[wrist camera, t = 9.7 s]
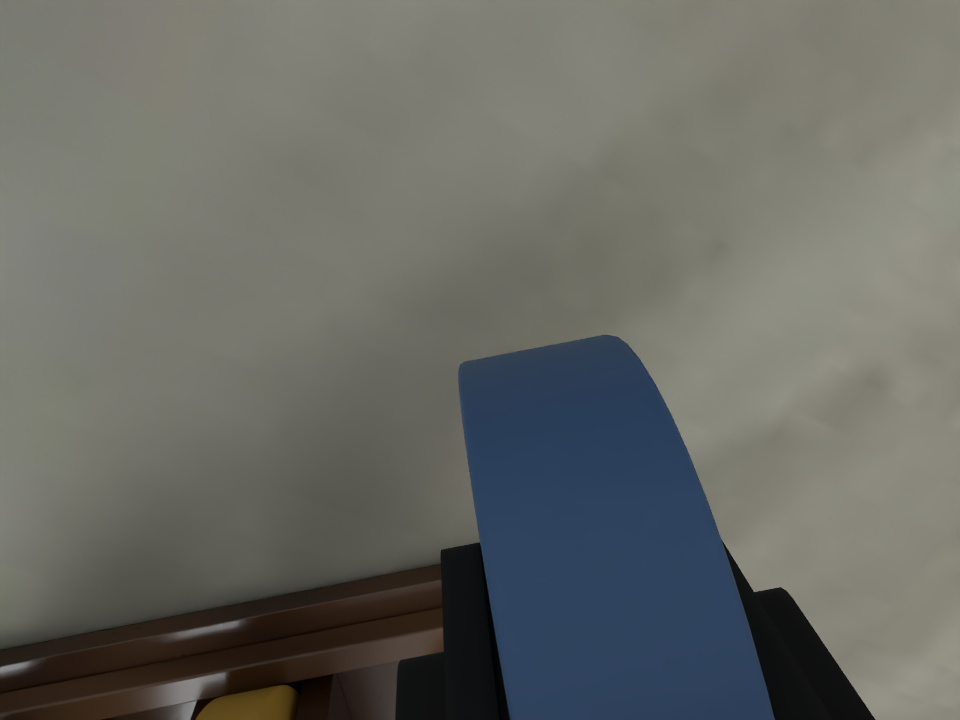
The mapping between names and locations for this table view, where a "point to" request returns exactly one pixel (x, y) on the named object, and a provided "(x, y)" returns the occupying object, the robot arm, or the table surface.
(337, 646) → the disc rack
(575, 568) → the blue disc
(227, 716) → the mustard disc
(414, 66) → the table surface
